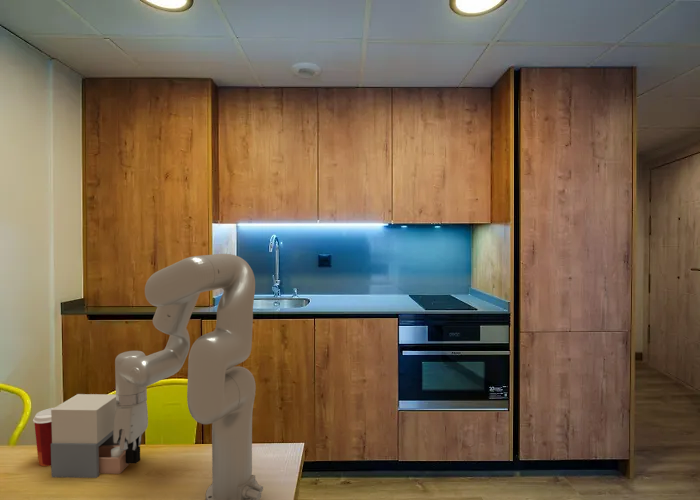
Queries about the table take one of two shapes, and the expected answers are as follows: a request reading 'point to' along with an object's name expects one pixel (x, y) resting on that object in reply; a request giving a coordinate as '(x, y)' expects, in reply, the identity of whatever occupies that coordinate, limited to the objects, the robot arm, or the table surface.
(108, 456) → the tray
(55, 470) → the counter unit
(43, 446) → the paper cup
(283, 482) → the table surface
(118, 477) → the table surface
